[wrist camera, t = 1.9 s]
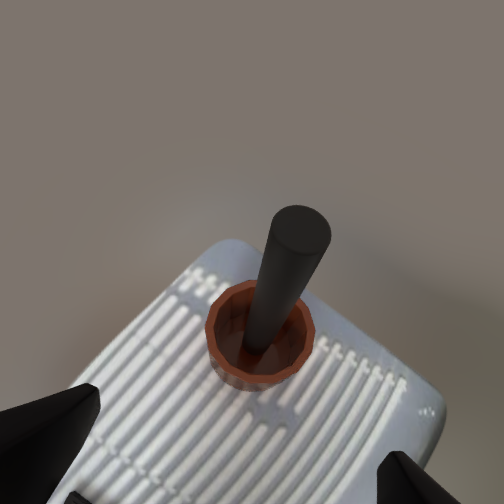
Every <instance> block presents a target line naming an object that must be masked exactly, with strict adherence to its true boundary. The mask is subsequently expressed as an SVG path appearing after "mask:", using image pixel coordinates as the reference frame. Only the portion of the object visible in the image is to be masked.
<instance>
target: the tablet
mask: <svg viewBox="0 0 504 504" xmlns="http://www.w3.org/2000/svg"><path fill="white" fill-rule="evenodd" d="M64 504H92V503H90V502H89V501H88V500H86V499H85V498H84V497H82V496H81V495H80V494H78V493H77V492H76V491H73V492H70V493H69V495H68V497H67V498H66V500H65V502H64Z"/></svg>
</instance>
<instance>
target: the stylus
mask: <svg viewBox="0 0 504 504" xmlns="http://www.w3.org/2000/svg"><path fill="white" fill-rule="evenodd" d="M330 241H331V229H330V226H329V224H328V222H327V220H326V219H325V218H324V217H323V216H322V215H321V214H320V213H319V212H317V211H316V210H314V209H312V208H309V207H306V206H301V205H292V206H287V207H285V208H283V209H281V210H280V211H279V212H277V213H276V215H275V216H274V217H273V220H272V223H271V227H270V231H269V235H268V239H267V243H266V247H265V251H264V255H263V259H262V263H261V267H260V271H259V275H258V279H257V283H256V287H255V291H254V295H253V299H252V303H251V307H250V311H249V315H248V319H247V323H246V327H245V330H244V334H243V338H242V346H243V348H244V350H245V351H246V352H247V353H249V354H251V355H254V356H258V355H261V354H263V353H265V352H266V351H267V350H268V348H269V346H270V345H271V343H272V342H273V340H274V338H275V337H276V335H277V334H278V332H279V330H280V329H281V327H282V325H283V324H284V322H285V320H286V319H287V317H288V315H289V314H290V312H291V310H292V309H293V307H294V305H295V304H296V302H297V300H298V299H299V297H300V295H301V294H302V292H303V290H304V288H305V287H306V285H307V283H308V282H309V279H310V278H311V276H312V274H313V273H314V271H315V269H316V267H317V266H318V264H319V262H320V260H321V259H322V257H323V255H324V253H325V251H326V250H327V248H328V246H329V244H330Z"/></svg>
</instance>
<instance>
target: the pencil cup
mask: <svg viewBox="0 0 504 504" xmlns="http://www.w3.org/2000/svg"><path fill="white" fill-rule="evenodd" d="M256 283H257V280H248V281H245V282H243V283H240V284H237V285H235V286H232V287H230V288H228V289H226V290H225V291H224V292H223V293H222V294H221V295H220V297H219V298H218V299H217V300H216V301H215V302H214V303H213V304H212V305H211V308H210V311H209V314H208V317H207V321H206V324H205V333H206V339H207V345H208V351H209V356H210V361H211V365H212V367H213V368H214V370H215V372H216V373H217V374H218V376H219V377H220V378H221V379H222V380H223V381H224V382H226V383H227V384H229V385H230V386H232V387H234V388H237V389H239V390H243V391H249V392H257V391H265V390H267V389H269V388H272V387H274V386H276V385H278V384H280V383H282V382H283V381H285V380H286V379H288V378H289V377H291V376H292V375H294V374H295V373H297V372H298V371H299V370H300V368H301V367H302V366H303V364H304V363H305V361H306V360H307V359H308V357H309V356H310V355H311V352H312V349H313V343H314V336H315V327H314V324H313V320H312V317H311V314H310V311H309V308H308V307H307V306H306V304H305V303H304V302H303V301H302V300H301V299H300V298H299V299H298V300H297V302H296V304H295V305H294V307H293V309H292V310H291V312H290V314H289V315H288V317H287V319H286V320H285V322H284V324H283V325H282V327H281V329H280V330H279V332H278V334H277V335H276V337H275V338H274V340H273V342H272V343H271V345H270V346H269V348H268V350H267V351H266V352H265V353H263V354H261V355H258V356H254V355H251V354H249V353H247V352H246V351H245V350H244V348H243V346H242V338H243V334H244V330H245V327H246V323H247V319H248V315H249V311H250V307H251V303H252V299H253V295H254V291H255V287H256Z"/></svg>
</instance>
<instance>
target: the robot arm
mask: <svg viewBox="0 0 504 504" xmlns="http://www.w3.org/2000/svg"><path fill="white" fill-rule="evenodd" d="M100 409H101V404H100V394H99V389H98V388H97V387H95V386H93V385H91V384H89V383H84V384H81V385H79V386H76V387H73V388H70V389H67V390H65V391H62V392H59V393H56V394H53V395H50V396H48V397H44V398H42V399H39V400H36V401H32V402H29V403H26V404H23V405H20V406H17V407H14V408H10V409H7V410H4V411H1V412H0V504H46V503H47V501H48V500H49V498H50V497H51V495H52V493H53V492H54V490H55V489H56V487H57V486H58V484H59V483H60V481H61V479H62V478H63V476H64V475H65V473H66V472H67V470H68V469H69V467H70V466H71V464H72V463H73V461H74V460H75V458H76V456H77V455H78V453H79V452H80V450H81V449H82V447H83V445H84V443H85V441H86V439H87V437H88V435H89V433H90V431H91V428H92V426H93V424H94V422H95V420H96V418H97V416H98V414H99V412H100ZM377 504H461V503H460V502H458V501H457V500H456V499H455V498H454V497H453V496H451V495H450V494H449V493H448V492H447V491H446V490H445V489H444V488H442V487H441V486H440V485H439V484H438V483H437V482H436V481H435V480H434V479H433V478H431V477H430V476H429V475H428V474H427V473H426V472H425V471H424V470H423V469H422V468H420V467H419V466H418V465H417V464H416V463H415V462H414V461H413V460H412V459H411V458H410V457H409V456H407V455H406V454H405V453H404V452H403V451H391V452H390V453H389V454H388V455H387V456H386V458H385V459H384V460H383V461H382V463H381V464H380V465H379V467H378V469H377Z"/></svg>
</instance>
